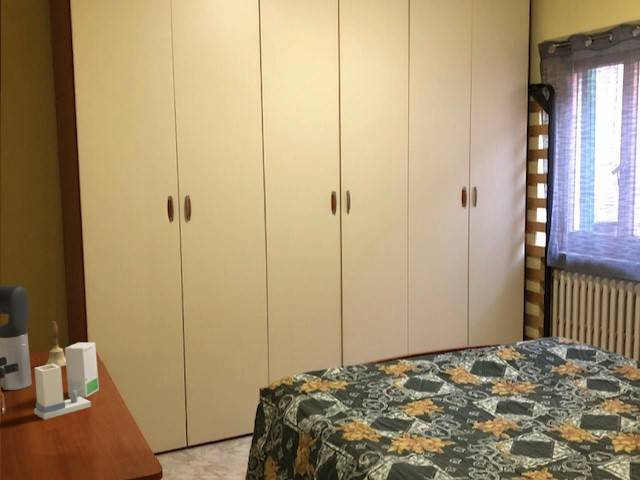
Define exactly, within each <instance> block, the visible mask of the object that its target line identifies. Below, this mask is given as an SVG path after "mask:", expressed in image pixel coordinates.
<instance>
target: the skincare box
mask: <svg viewBox="0 0 640 480" xmlns="http://www.w3.org/2000/svg"><path fill="white" fill-rule="evenodd" d="M64 356H65V358H66V365H65V368H66V380H67V392H68V393H67V395H68V398H71V396H70V391H71V390H77V397H82V398H84V399H86V398H88V397H90V396H91V395H93V394H94V393H95V394H96V392H98V391H99V389H100V387H99V386H100V385H99V375H98V363H97V360H98V359H97V349H96V342H76V343H74V344H71V345H69V346H67V347H65V348H64Z"/></svg>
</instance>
